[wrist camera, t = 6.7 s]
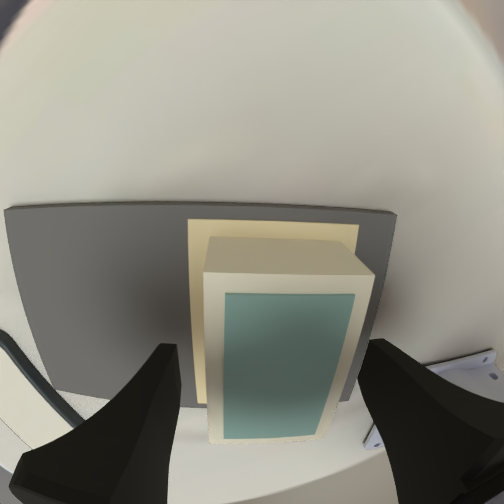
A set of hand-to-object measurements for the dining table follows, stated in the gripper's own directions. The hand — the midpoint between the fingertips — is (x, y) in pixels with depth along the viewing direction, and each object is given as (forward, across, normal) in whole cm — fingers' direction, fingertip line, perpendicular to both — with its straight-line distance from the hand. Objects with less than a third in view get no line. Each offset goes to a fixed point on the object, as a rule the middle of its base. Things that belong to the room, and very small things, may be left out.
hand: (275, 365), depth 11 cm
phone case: (+4, +15, +10) cm, 19 cm away
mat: (+3, +4, 0) cm, 5 cm away
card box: (+2, 0, 0) cm, 2 cm away
